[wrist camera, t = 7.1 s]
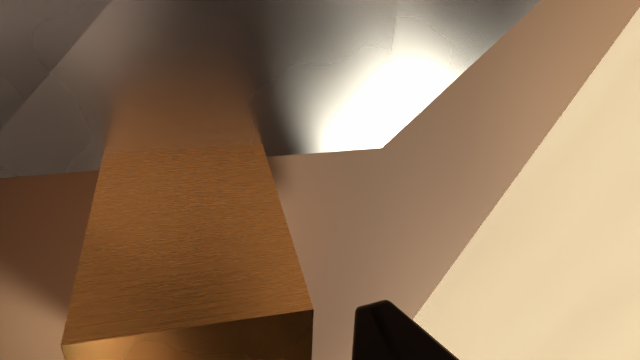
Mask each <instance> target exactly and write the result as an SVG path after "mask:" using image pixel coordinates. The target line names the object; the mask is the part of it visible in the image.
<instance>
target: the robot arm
mask: <svg viewBox="0 0 640 360" xmlns="http://www.w3.org/2000/svg"><path fill="white" fill-rule="evenodd" d="M352 360H459V359H458V358H457V357H455V356H454V355H453V354H452V353H451V352H449V351H448V350H447V349H446V348H445V347H444V346H442V345H441V344H440V343H439V342H438V341H437V340H435V339H434V338H433V337H432V336H431V335H429V334H428V333H427V332H426V331H425V330H424V329H422V328H421V327H420V326H419V325H418V324H417V323H415V322H414V321H413V320H412V319H411V318H409V317H408V316H407V315H406V314H405V313H404V312H402V311H401V310H400V309H399V308H398V307H397V306H395V305H394V304H393V303H392V302H390V301H389V300H382V301H378V302H374V303H370V304H366V305H363V306H359V307H357V308H356V310H355V318H354V332H353V347H352Z"/></svg>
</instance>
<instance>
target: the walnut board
mask: <svg viewBox="0 0 640 360" xmlns="http://www.w3.org/2000/svg"><path fill="white" fill-rule="evenodd" d="M639 7H640V0H541V1H540V2H539V3H538V4H537V5H536V6H535V7H534V8H533V9H532V10H530V11H529V12H528V13H527V14H526V15H525V16H524V17H523V18H522V19H521V20H520V21H519V22H517V23H516V24H515V25H514V26H513V27H512V28H511V29H510V30H509V31H508V32H507V33H506V34H504V35H503V36H502V37H501V38H500V39H499V40H498V41H497V42H496V43H495V44H494V45H493V46H491V47H490V48H489V49H488V50H487V51H486V52H485V53H484V54H483V55H482V56H481V57H480V58H478V59H477V60H476V61H475V62H474V63H473V64H472V65H471V66H470V67H469V68H468V69H467V70H465V71H464V72H463V73H462V74H461V75H460V76H459V77H458V78H457V79H456V80H455V81H454V82H452V83H451V84H450V85H449V86H448V87H447V88H446V89H445V90H444V91H443V92H442V93H441V94H439V95H438V96H437V97H436V98H435V99H434V100H433V101H432V102H431V103H430V104H429V105H428V106H426V107H425V108H424V109H423V110H422V111H421V112H420V113H419V114H418V115H417V116H416V117H415V118H413V119H412V120H411V121H410V122H409V123H408V124H407V125H406V126H405V127H404V128H403V129H402V130H400V131H399V132H398V133H397V134H396V135H395V136H394V137H393V138H392V139H391V140H390V141H389V142H387V143H386V144H385V145H384V146H383V147H382V148H373V149H360V150H347V151H335V152H322V153H310V154H297V155H285V156H272V157H267V160H268V164H269V167H270V170H271V173H272V177H273V180H274V183H275V186H276V189H277V193H278V196H279V199H280V202H281V206H282V209H283V212H284V215H285V218H286V222H287V225H288V228H289V231H290V234H291V238H292V241H293V244H294V247H295V251H296V254H297V257H298V260H299V263H300V267H301V270H302V273H303V276H304V280H305V283H306V286H307V289H308V292H309V296H310V299H311V302H312V305H313V309H314V315H313V339H312V360H352V347H353V332H354V318H355V310H356V308H357V307H359V306H363V305H366V304H370V303H374V302H378V301H382V300H389V301H390V302H392V303H393V304H394V305H395V306H397V307H398V308H399V309H400V310H401V311H402V312H404V313H405V314H406V315H407V316H408V317H409V318H411V319H412V320H413V318H414V317H415V315H416V314H417V313H418V311H419V310H420V309H421V307H422V306H423V304H424V303H425V302H426V300H427V299H428V298H429V296H430V295H431V293H432V292H433V291H434V289H435V288H436V287H437V285H438V284H439V282H440V281H441V280H442V278H443V277H444V276H445V274H446V273H447V271H448V270H449V269H450V267H451V266H452V265H453V263H454V262H455V260H456V259H457V258H458V256H459V255H460V254H461V252H462V251H463V249H464V248H465V247H466V245H467V244H468V242H469V241H470V240H471V238H472V237H473V236H474V234H475V233H476V231H477V230H478V229H479V227H480V226H481V225H482V223H483V222H484V220H485V219H486V218H487V216H488V215H489V214H490V212H491V211H492V209H493V208H494V207H495V205H496V204H497V203H498V201H499V200H500V198H501V197H502V196H503V194H504V193H505V192H506V190H507V189H508V187H509V186H510V185H511V183H512V182H513V181H514V179H515V178H516V176H517V175H518V174H519V172H520V171H521V170H522V168H523V167H524V165H525V164H526V163H527V161H528V160H529V159H530V157H531V156H532V154H533V153H534V152H535V150H536V149H537V148H538V146H539V145H540V143H541V142H542V141H543V139H544V138H545V137H546V135H547V134H548V132H549V131H550V130H551V128H552V127H553V126H554V124H555V123H556V121H557V120H558V119H559V117H560V116H561V115H562V113H563V112H564V110H565V109H566V108H567V106H568V105H569V104H570V102H571V101H572V99H573V98H574V97H575V95H576V94H577V92H578V91H579V90H580V88H581V87H582V86H583V84H584V83H585V81H586V80H587V79H588V77H589V76H590V75H591V73H592V72H593V70H594V69H595V68H596V66H597V65H598V64H599V62H600V61H601V59H602V58H603V57H604V55H605V54H606V53H607V51H608V50H609V48H610V47H611V46H612V44H613V43H614V42H615V40H616V39H617V37H618V36H619V35H620V33H621V32H622V31H623V29H624V28H625V26H626V25H627V24H628V22H629V21H630V20H631V18H632V17H633V15H634V14H635V13H636V11H637V10H638V9H639ZM99 171H100V170H96V171H83V172H71V173H58V174H46V175H33V176H20V177H8V178H0V360H65V359H64V356H63V352H62V349H61V346H60V345H61V341H62V336H63V332H64V327H65V323H66V319H67V314H68V310H69V305H70V301H71V296H72V292H73V287H74V283H75V278H76V274H77V269H78V265H79V260H80V256H81V251H82V247H83V243H84V238H85V234H86V229H87V225H88V220H89V216H90V211H91V207H92V202H93V198H94V193H95V189H96V184H97V180H98V175H99Z"/></svg>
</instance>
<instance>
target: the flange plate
mask: <svg viewBox="0 0 640 360" xmlns="http://www.w3.org/2000/svg"><path fill="white" fill-rule="evenodd" d="M540 1H541V0H0V178H8V177H20V176H33V175H46V174H58V173H71V172H83V171H96V170H100V171H99V175H98V180H97V184H96V189H95V193H94V198H93V202H92V207H91V211H90V216H89V220H88V225H87V229H86V234H85V238H84V243H83V247H82V251H81V256H80V260H79V265H78V269H77V274H76V278H75V283H74V287H73V292H72V296H71V301H70V305H69V310H68V314H67V319H66V323H65V327H64V332H63V336H62V341H61V345H60V346H61V349H62V352H63V356H64V359H65V360H312V339H313V315H314V309H313V305H312V302H311V299H310V296H309V292H308V289H307V286H306V283H305V280H304V276H303V273H302V270H301V267H300V263H299V260H298V257H297V254H296V251H295V247H294V244H293V241H292V238H291V234H290V231H289V228H288V225H287V222H286V218H285V215H284V212H283V209H282V206H281V202H280V199H279V196H278V193H277V189H276V186H275V183H274V180H273V177H272V173H271V170H270V167H269V164H268V160H267V157H272V156H285V155H297V154H310V153H322V152H335V151H347V150H360V149H373V148H382V147H383V146H384V145H385V144H386V143H387V142H389V141H390V140H391V139H392V138H393V137H394V136H395V135H396V134H397V133H398V132H399V131H400V130H402V129H403V128H404V127H405V126H406V125H407V124H408V123H409V122H410V121H411V120H412V119H413V118H415V117H416V116H417V115H418V114H419V113H420V112H421V111H422V110H423V109H424V108H425V107H426V106H428V105H429V104H430V103H431V102H432V101H433V100H434V99H435V98H436V97H437V96H438V95H439V94H441V93H442V92H443V91H444V90H445V89H446V88H447V87H448V86H449V85H450V84H451V83H452V82H454V81H455V80H456V79H457V78H458V77H459V76H460V75H461V74H462V73H463V72H464V71H465V70H467V69H468V68H469V67H470V66H471V65H472V64H473V63H474V62H475V61H476V60H477V59H478V58H480V57H481V56H482V55H483V54H484V53H485V52H486V51H487V50H488V49H489V48H490V47H491V46H493V45H494V44H495V43H496V42H497V41H498V40H499V39H500V38H501V37H502V36H503V35H504V34H506V33H507V32H508V31H509V30H510V29H511V28H512V27H513V26H514V25H515V24H516V23H517V22H519V21H520V20H521V19H522V18H523V17H524V16H525V15H526V14H527V13H528V12H529V11H530V10H532V9H533V8H534V7H535V6H536V5H537V4H538V3H539V2H540Z"/></svg>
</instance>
